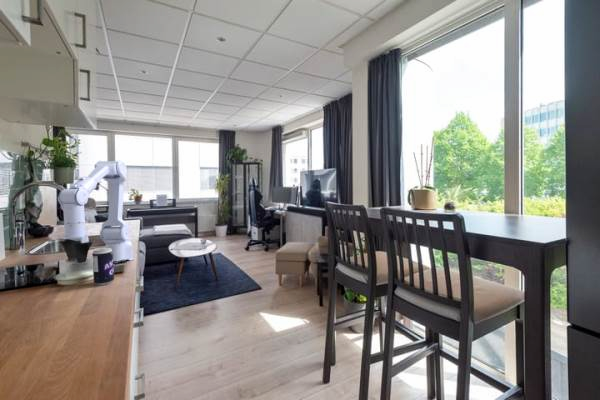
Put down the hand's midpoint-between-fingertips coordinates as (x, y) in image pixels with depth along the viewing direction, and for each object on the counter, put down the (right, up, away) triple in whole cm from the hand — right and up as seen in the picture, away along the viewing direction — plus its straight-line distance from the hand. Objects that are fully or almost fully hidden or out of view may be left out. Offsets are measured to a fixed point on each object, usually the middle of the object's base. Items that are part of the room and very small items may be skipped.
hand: (77, 260), depth 98 cm
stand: (0, -7, 0) cm, 7 cm away
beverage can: (+12, -7, -3) cm, 14 cm away
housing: (0, -4, 0) cm, 4 cm away
